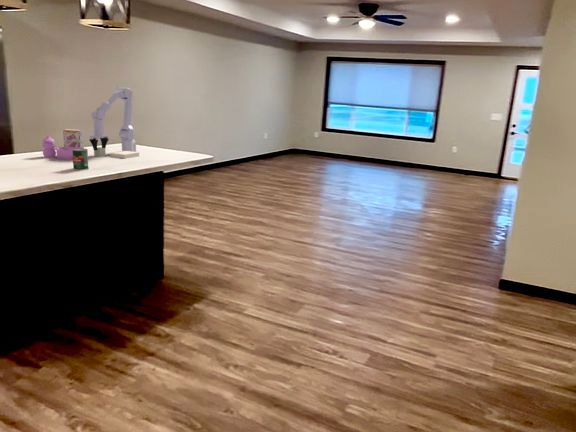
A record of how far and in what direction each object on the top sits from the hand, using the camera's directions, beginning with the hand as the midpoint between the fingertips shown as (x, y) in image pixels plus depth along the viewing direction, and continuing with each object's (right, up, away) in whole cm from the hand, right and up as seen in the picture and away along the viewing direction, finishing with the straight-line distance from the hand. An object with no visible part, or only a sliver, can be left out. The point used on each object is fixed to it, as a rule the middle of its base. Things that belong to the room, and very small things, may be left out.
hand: (99, 149), depth 328 cm
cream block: (+16, -5, +3) cm, 17 cm away
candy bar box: (-15, -4, -3) cm, 16 cm away
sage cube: (0, -4, +1) cm, 4 cm away
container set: (-17, -8, -16) cm, 24 cm away
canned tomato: (+7, -17, -47) cm, 51 cm away
